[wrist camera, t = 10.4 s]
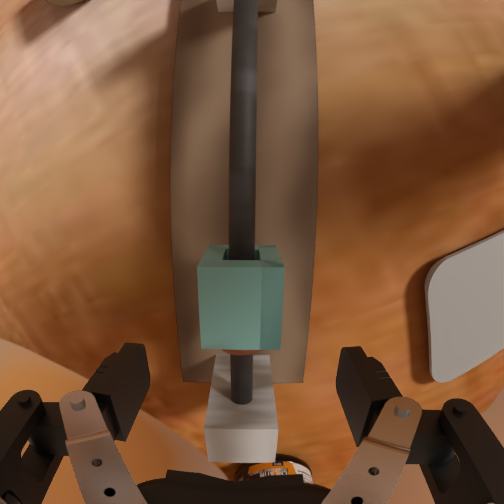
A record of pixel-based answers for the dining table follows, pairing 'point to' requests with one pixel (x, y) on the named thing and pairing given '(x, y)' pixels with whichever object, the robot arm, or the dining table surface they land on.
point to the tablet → (465, 308)
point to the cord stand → (244, 195)
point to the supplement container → (275, 469)
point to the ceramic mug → (62, 2)
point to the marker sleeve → (241, 299)
